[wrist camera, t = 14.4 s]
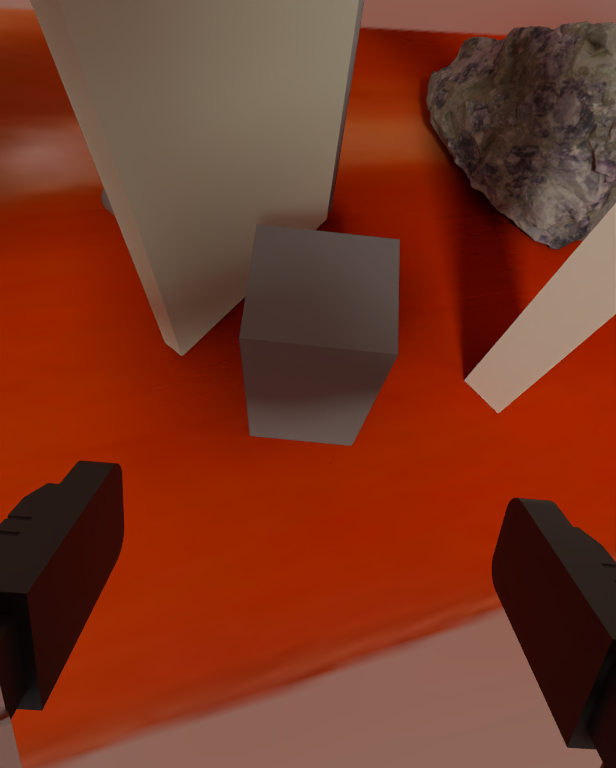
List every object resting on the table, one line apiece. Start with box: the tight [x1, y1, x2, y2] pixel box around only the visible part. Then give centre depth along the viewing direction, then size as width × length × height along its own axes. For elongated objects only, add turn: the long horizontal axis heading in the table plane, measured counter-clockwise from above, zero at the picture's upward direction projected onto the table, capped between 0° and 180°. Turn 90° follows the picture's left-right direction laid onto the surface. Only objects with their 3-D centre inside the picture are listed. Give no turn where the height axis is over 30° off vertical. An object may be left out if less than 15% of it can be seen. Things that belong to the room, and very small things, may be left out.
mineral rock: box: [426, 21, 616, 249], centre depth 29 cm, size 13×11×10 cm
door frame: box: [464, 203, 616, 413], centre depth 19 cm, size 18×3×22 cm, turn 41°
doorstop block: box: [239, 224, 399, 446], centre depth 22 cm, size 4×5×10 cm
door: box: [30, 0, 364, 356], centre depth 21 cm, size 13×3×17 cm, turn 141°
